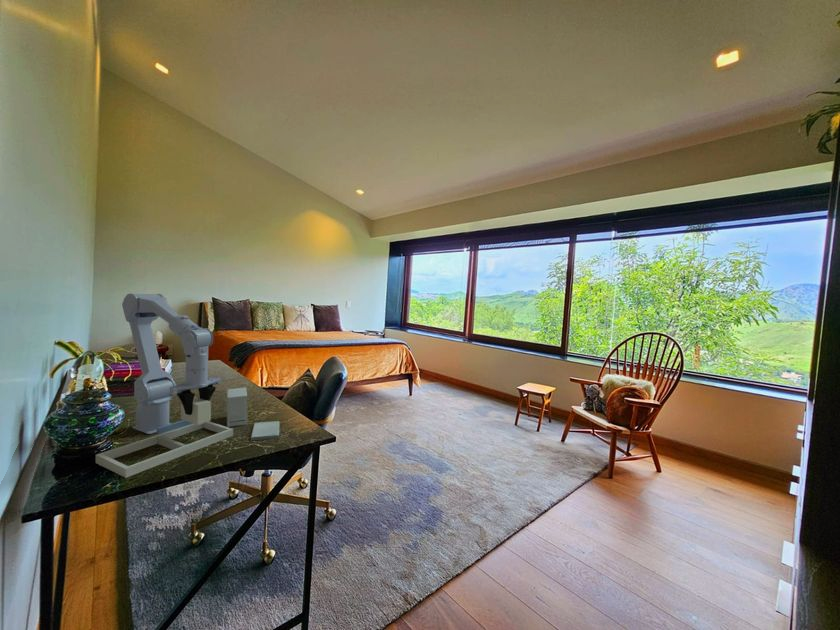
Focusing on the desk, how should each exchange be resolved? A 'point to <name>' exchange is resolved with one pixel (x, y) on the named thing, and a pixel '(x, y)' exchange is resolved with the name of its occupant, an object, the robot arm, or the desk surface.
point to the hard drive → (265, 430)
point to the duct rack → (165, 440)
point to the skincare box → (236, 407)
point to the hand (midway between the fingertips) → (196, 411)
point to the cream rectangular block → (198, 411)
